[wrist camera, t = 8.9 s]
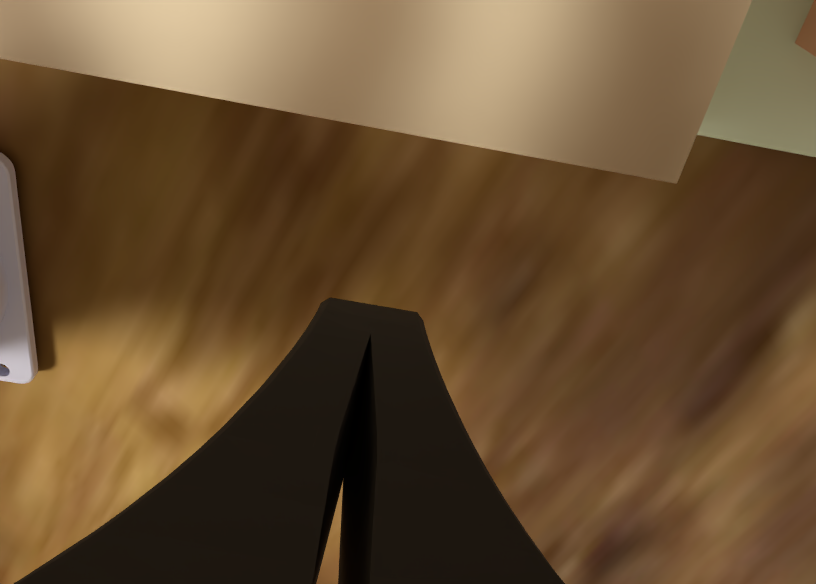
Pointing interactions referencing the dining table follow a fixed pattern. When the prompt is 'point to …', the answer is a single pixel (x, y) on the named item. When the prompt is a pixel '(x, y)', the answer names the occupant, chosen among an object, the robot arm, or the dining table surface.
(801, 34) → the tile
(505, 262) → the dining table surface
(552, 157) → the deck
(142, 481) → the dining table surface
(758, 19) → the mat
